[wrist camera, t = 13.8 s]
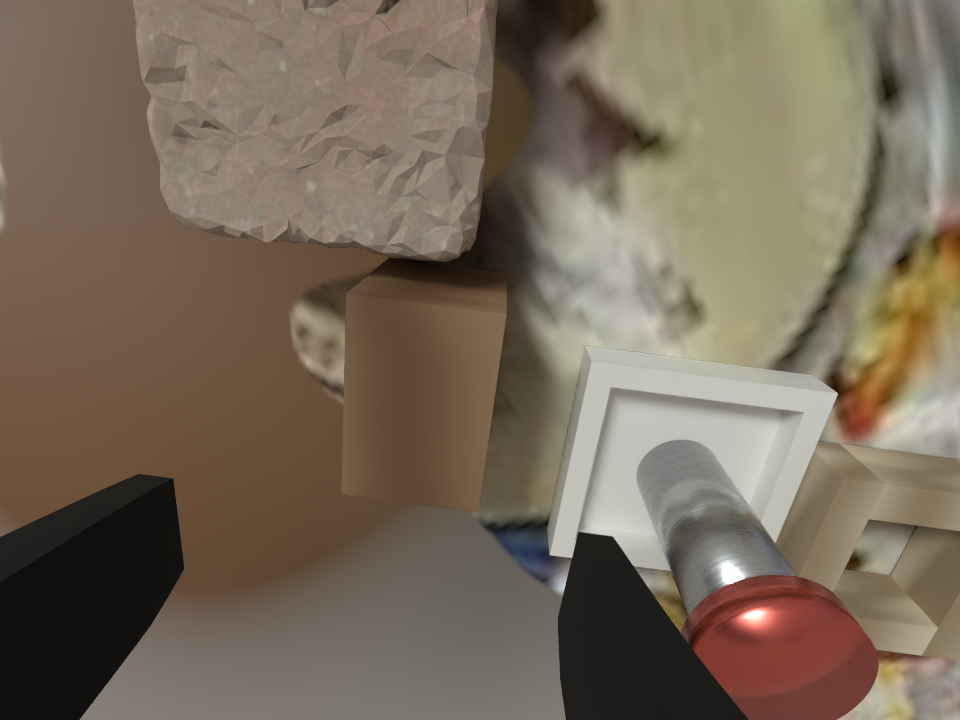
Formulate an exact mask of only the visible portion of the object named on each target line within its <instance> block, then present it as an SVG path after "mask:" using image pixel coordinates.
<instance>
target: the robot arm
mask: <svg viewBox="0 0 960 720" xmlns="http://www.w3.org/2000/svg"><path fill="white" fill-rule="evenodd" d="M183 570H184V563H183V554H182V546H181V538H180V530H179V522H178V513H177V505H176V497H175V489H174V481H173V478H165V477H157V476H150V475H142V474H138V475H136V476H133V477H131V478H128V479H126V480H123V481H121V482H119V483H116V484H114V485H112V486H109V487H107V488H105V489H103V490H100V491H98V492H96V493H94V494H92V495H90V496H87V497H85V498H83V499H81V500H79V501H77V502H74V503H72V504H70V505H68V506H66V507H64V508H62V509H60V510H58V511H55V512H53V513H51V514H49V515H47V516H45V517H42V518H40V519H38V520H36V521H34V522H32V523H30V524H28V525H25V526H23V527H21V528H19V529H17V530H14V531H12V532H10V533H8V534H6V535H4V536H2V537H0V720H80V718H81V717H82V716H83V714H84V713H85V712H86V710H87V709H88V708H89V706H90V705H91V704H92V703H93V701H94V700H95V699H96V697H97V696H98V695H99V693H100V692H101V691H102V689H103V688H104V687H105V685H106V684H107V683H108V682H109V680H110V679H111V678H112V676H113V675H114V674H115V672H116V671H117V670H118V668H119V667H120V666H121V665H122V663H123V662H124V661H125V659H126V658H127V656H128V655H129V654H130V653H131V651H132V650H133V649H134V647H135V646H136V645H137V643H138V642H139V641H140V639H141V638H142V636H143V635H144V634H145V632H146V631H147V630H148V628H149V627H150V626H151V624H152V622H153V621H154V619H155V618H156V616H157V614H158V613H159V611H160V609H161V608H162V606H163V605H164V603H165V601H166V600H167V598H168V596H169V594H170V593H171V591H172V589H173V587H174V586H175V584H176V582H177V580H178V578H179V577H180V575H181V573H182V571H183ZM558 634H559V635H558V636H559V661H560V680H561V687H562V695H563V702H564V708H565V716H566V720H749V719H748V718H747V717H746V716H745V714H744V713H743V712H742V711H741V710H740V708H739V707H738V706H737V705H736V703H735V702H734V701H733V700H732V699H731V697H730V696H729V695H728V694H727V692H726V691H725V690H724V689H723V687H722V686H721V685H720V684H719V683H718V681H717V680H716V679H715V678H714V676H713V675H712V674H711V673H710V671H709V670H708V669H707V667H706V666H705V665H704V663H703V662H702V661H701V660H700V658H699V657H698V656H697V654H696V653H695V652H694V650H693V649H692V648H691V646H690V645H689V644H688V642H687V641H686V640H685V638H684V637H683V636H682V634H681V633H680V632H679V630H678V629H677V627H676V626H675V625H674V623H673V622H672V621H671V619H670V618H669V617H668V615H667V614H666V612H665V611H664V610H663V608H662V607H661V605H660V604H659V603H658V601H657V600H656V598H655V597H654V595H653V594H652V593H651V591H650V590H649V588H648V587H647V585H646V584H645V582H644V581H643V579H642V578H641V577H640V575H639V574H638V572H637V571H636V569H635V568H634V566H633V565H632V563H631V562H630V560H629V559H628V557H627V556H626V554H625V553H624V551H623V550H622V549H621V547H620V546H619V544H618V543H617V541H616V540H615V539H614V537H613V536H606V535H599V534H591V533H584V532H578V535H577V539H576V543H575V548H574V552H573V556H572V560H571V565H570V569H569V573H568V577H567V582H566V586H565V590H564V594H563V599H562V603H561V607H560V611H559V616H558Z"/></svg>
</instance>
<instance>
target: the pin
mask: <svg viewBox="0 0 960 720" xmlns="http://www.w3.org/2000/svg"><path fill="white" fill-rule="evenodd" d="M636 480H637V485H638V488H639V490H640V493H641V495H642V498H643V501H644V503H645V506H646V508H647V511H648V513H649V516H650V519H651V521H652V524H653V526H654V529H655V531H656V534H657V537H658V539H659V542H660V544H661V547H662V549H663V552H664V555H665V557H666V560H667V562H668V565H669V567H670V570H671V573H672V575H673V578H674V580H675V583H676V585H677V588H678V591H679V593H680V596H681V598H682V601H683V603H684V606H685V609H686V611H687V614H688V617H687V619H686V621H685V623H684V625H683V628H682V631H681V634H682V636H683V637H684V638H685V640H686V641H687V642H688V644H689V645H690V646H691V648H692V649H693V650H694V652H695V653H696V654H697V656H698V657H699V658H700V660H701V661H702V662H703V663H704V665H705V666H706V667H707V669H708V670H709V671H710V673H711V674H712V675H713V676H714V678H715V679H716V680H717V681H718V683H719V684H720V685H721V686H722V687H723V689H724V690H725V691H726V692H727V694H728V695H729V696H730V697H731V699H732V700H733V701H734V702H735V703H736V705H737V706H738V707H739V708H740V710H741V711H742V712H743V713H744V714H745V716H746V717H747V718H748V719H749V720H836V719H838V718H840V717H842V716H843V715H845V714H847V713H848V712H849V711H851V710H852V709H853V708H855V707H856V706H857V705H858V704H859V703H860V702H861V701H862V700H863V699H864V698H865V696H866V695H867V694H868V693H869V691H870V690H871V688H872V686H873V684H874V682H875V679H876V676H877V672H878V656H877V652H876V649H875V647H874V645H873V643H872V641H871V640H870V638H869V637H868V636H867V634H866V633H865V632H864V630H863V629H862V628H861V626H860V625H859V624H858V622H857V621H856V620H855V618H854V617H853V616H852V614H851V613H850V612H849V610H848V609H847V608H846V606H845V605H844V604H843V602H842V601H841V600H840V598H839V597H838V596H837V595H836V594H834V593H833V592H832V591H831V590H829V589H828V588H826V587H825V586H823V585H821V584H819V583H817V582H814V581H812V580H809V579H806V578H801V577H798V576H797V574H796V573H795V571H794V570H793V568H792V567H791V565H790V564H789V563H788V561H787V560H786V558H785V557H784V555H783V554H782V552H781V551H780V549H779V548H778V547H777V545H776V544H775V542H774V541H773V539H772V538H771V536H770V535H769V533H768V532H767V531H766V529H765V528H764V526H763V525H762V523H761V522H760V520H759V519H758V518H757V516H756V515H755V513H754V512H753V510H752V509H751V507H750V506H749V504H748V503H747V502H746V500H745V499H744V497H743V496H742V494H741V493H740V491H739V490H738V488H737V487H736V486H735V484H734V483H733V481H732V480H731V478H730V477H729V475H728V474H727V472H726V471H725V470H724V468H723V467H722V465H721V464H720V462H719V461H718V459H717V458H716V457H715V455H714V454H713V452H712V451H711V450H710V449H709V448H707V447H706V446H704V445H703V444H701V443H698V442H695V441H691V440H672V441H668V442H665V443H662V444H660V445H658V446H656V447H655V448H653V449H652V450H650V451H649V452H648V453H647V454H646V455H645V456H644V458H643V459H642V460H641V462H640V464H639V466H638V469H637V475H636Z"/></svg>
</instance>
